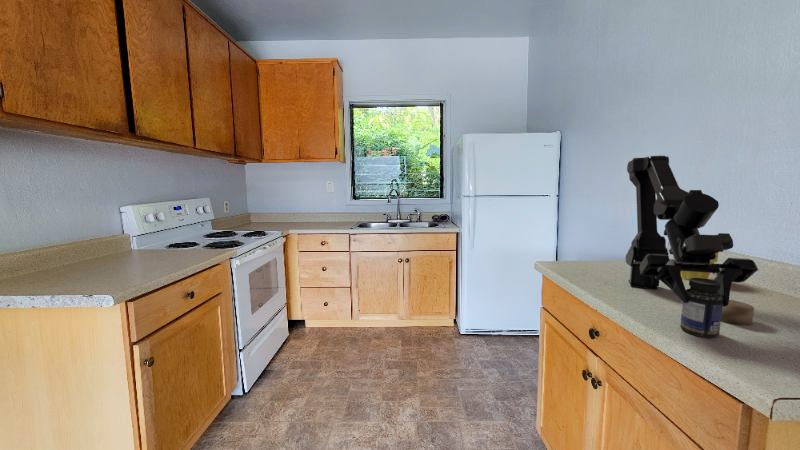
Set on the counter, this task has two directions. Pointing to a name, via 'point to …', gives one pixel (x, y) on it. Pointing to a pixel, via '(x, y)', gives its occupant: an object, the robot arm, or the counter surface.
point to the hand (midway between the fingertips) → (706, 303)
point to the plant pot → (690, 275)
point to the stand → (737, 313)
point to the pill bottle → (702, 308)
